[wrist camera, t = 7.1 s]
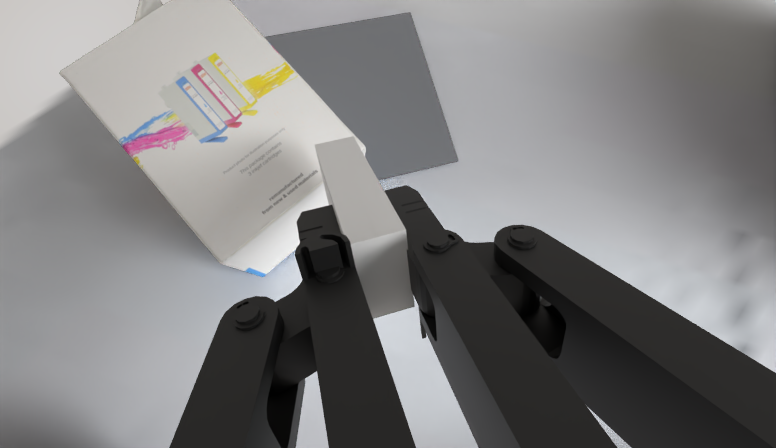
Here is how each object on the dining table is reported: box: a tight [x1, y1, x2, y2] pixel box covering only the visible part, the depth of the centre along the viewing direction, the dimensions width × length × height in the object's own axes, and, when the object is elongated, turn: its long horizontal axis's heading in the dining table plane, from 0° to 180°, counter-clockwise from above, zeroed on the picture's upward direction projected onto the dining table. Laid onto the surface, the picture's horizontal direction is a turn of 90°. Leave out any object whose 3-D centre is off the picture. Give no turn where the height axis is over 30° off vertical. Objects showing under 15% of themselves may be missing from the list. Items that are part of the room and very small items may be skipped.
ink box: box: [59, 0, 366, 277], centre depth 22 cm, size 9×8×13 cm
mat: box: [264, 12, 458, 180], centre depth 28 cm, size 18×12×1 cm, turn 106°
